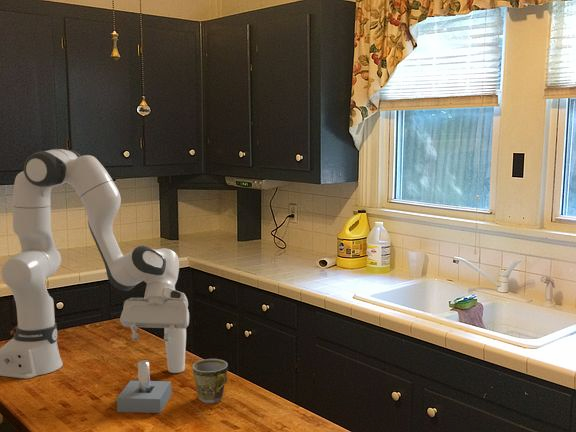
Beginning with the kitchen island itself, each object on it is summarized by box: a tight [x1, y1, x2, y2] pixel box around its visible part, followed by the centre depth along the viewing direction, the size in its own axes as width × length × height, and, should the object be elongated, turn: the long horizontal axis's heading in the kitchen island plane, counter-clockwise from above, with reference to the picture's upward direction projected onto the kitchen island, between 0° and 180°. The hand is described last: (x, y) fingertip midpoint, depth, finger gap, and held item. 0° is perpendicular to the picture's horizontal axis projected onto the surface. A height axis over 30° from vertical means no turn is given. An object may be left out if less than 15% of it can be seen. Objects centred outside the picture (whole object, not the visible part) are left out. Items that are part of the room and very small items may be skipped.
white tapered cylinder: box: [163, 328, 187, 374], centre depth 204 cm, size 7×7×15 cm
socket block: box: [116, 380, 173, 414], centre depth 182 cm, size 12×12×4 cm
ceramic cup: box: [192, 358, 229, 404], centre depth 183 cm, size 13×10×10 cm
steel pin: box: [137, 359, 151, 393], centre depth 181 cm, size 3×3×12 cm
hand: (150, 339), depth 188 cm, fingers open, 8 cm apart
